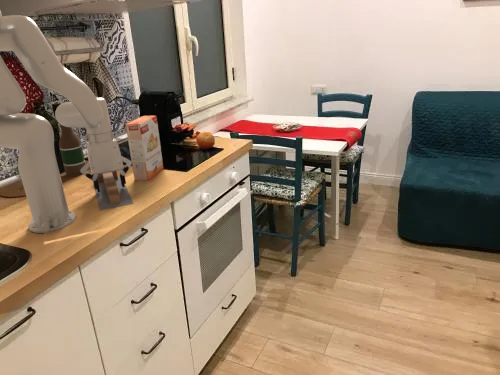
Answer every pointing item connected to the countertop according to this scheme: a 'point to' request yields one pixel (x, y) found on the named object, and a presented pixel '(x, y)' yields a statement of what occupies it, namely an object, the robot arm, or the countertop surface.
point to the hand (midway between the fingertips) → (111, 188)
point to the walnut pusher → (110, 185)
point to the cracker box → (144, 147)
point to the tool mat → (104, 199)
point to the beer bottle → (71, 151)
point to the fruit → (205, 140)
